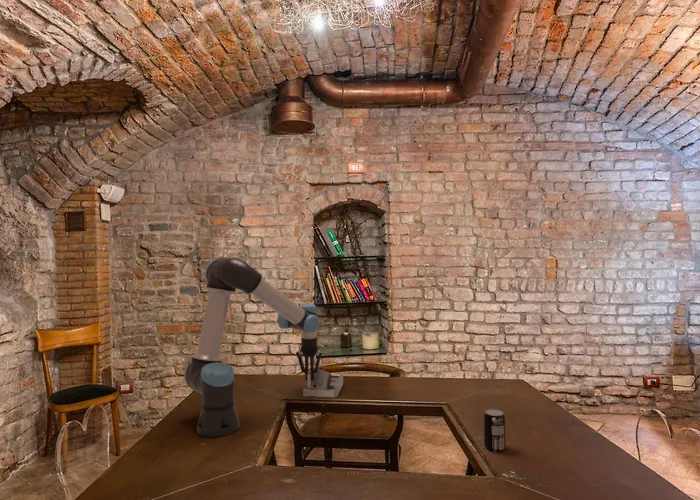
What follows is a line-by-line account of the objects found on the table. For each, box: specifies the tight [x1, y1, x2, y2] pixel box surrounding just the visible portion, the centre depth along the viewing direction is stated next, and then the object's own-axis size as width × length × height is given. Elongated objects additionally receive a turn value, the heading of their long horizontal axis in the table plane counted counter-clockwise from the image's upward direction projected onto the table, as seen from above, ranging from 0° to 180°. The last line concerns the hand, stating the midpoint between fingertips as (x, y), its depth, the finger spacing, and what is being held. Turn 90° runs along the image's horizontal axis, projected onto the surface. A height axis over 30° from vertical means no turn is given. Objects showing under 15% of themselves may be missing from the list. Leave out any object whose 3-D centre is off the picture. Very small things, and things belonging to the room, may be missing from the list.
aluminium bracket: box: [302, 374, 344, 398], centre depth 206 cm, size 18×16×5 cm
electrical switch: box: [310, 369, 333, 389], centre depth 206 cm, size 9×5×9 cm, turn 51°
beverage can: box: [483, 408, 506, 453], centre depth 145 cm, size 7×7×12 cm
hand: (309, 387), depth 207 cm, fingers closed
